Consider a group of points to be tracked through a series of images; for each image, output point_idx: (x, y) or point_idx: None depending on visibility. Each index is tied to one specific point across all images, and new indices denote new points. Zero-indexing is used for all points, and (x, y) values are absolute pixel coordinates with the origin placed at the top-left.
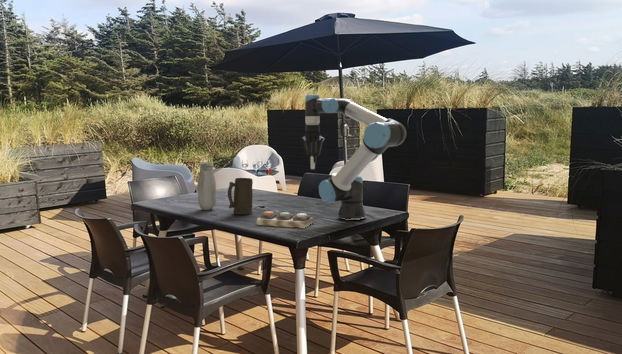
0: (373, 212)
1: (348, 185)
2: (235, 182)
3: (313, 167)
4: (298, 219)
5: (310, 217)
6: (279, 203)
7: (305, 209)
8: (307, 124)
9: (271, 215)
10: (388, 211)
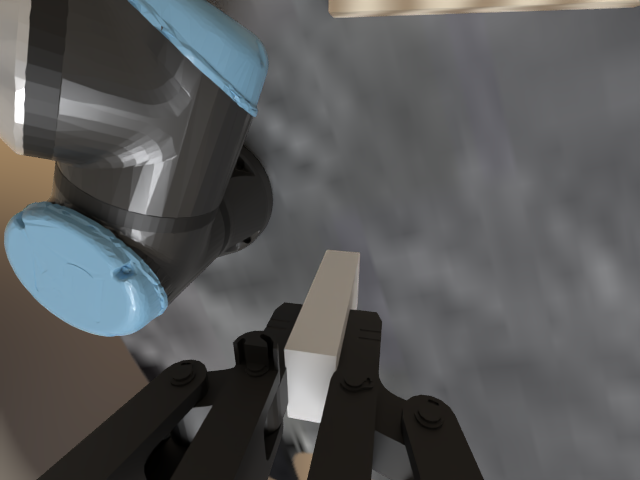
0: (188, 312)
1: None
2: None
3: (322, 264)
4: None
5: (344, 11)
6: (618, 435)
7: (460, 329)
8: None
9: None
10: (152, 334)
